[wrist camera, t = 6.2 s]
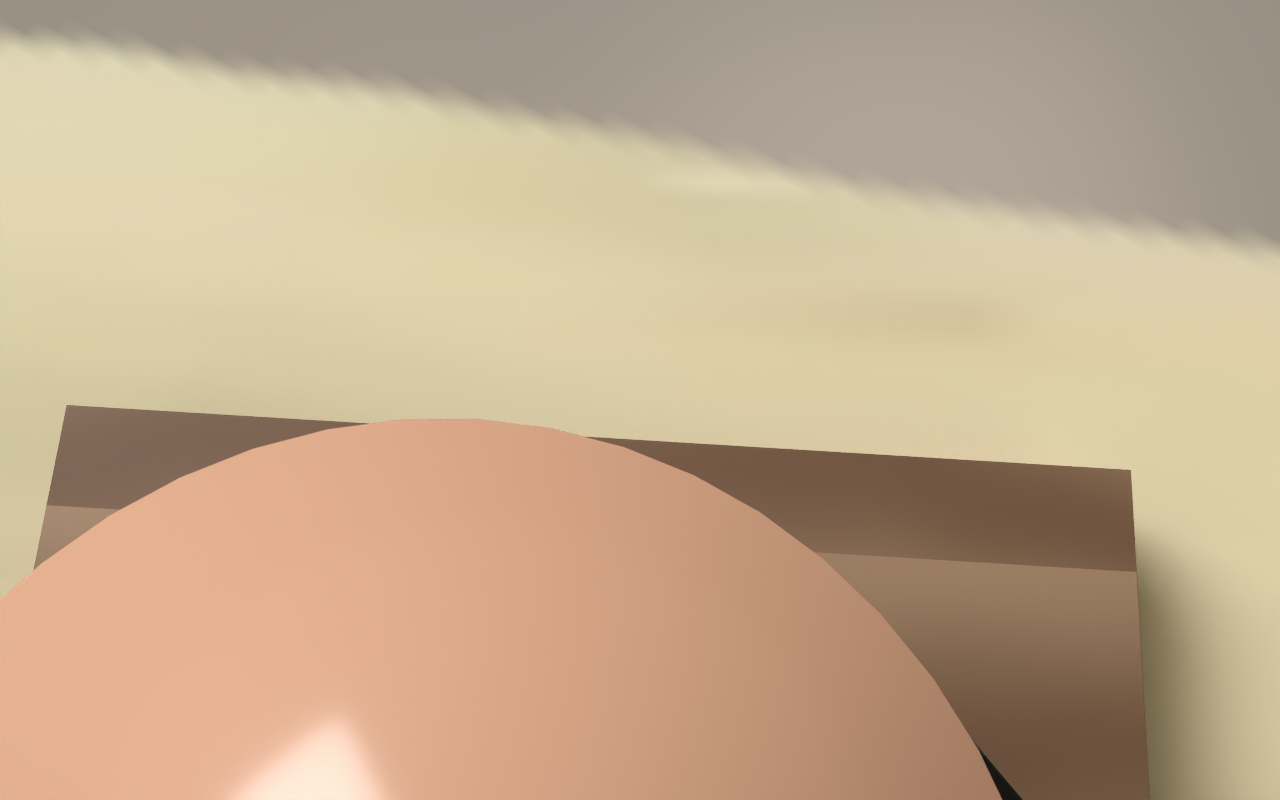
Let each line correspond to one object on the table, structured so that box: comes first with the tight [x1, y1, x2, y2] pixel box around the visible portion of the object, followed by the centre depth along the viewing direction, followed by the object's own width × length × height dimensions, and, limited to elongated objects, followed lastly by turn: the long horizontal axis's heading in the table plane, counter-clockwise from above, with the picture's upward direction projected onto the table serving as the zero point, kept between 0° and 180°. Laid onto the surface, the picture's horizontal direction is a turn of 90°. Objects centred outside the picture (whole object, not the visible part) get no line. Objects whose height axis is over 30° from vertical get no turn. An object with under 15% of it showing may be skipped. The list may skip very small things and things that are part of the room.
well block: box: [34, 405, 1149, 800], centre depth 17 cm, size 10×18×3 cm, turn 87°
